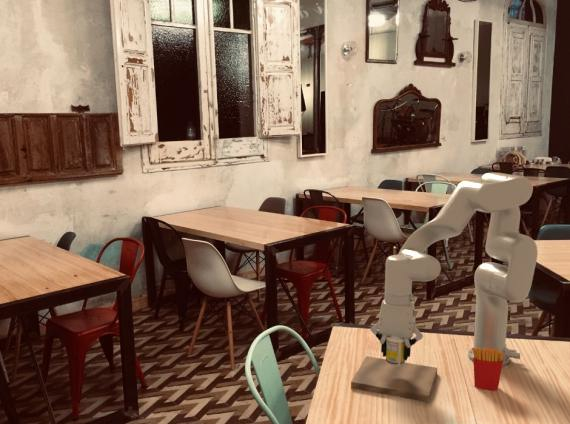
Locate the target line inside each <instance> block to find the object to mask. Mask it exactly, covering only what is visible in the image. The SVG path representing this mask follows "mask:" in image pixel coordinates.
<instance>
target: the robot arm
mask: <svg viewBox="0 0 570 424" xmlns="http://www.w3.org/2000/svg"><path fill="white" fill-rule="evenodd" d="M533 190H534V187H533V184H532V182H531V181H530V179H528V178H527V177H525V176H523V175H522V176H521V175H517V174H516V175H515V174H507V173H503V172H485V173H484V174H483V175H481V176H480V178H479V180H475V179H474V180H471V179H470V180H469V179H467V180H463V181H461V182H459V183H458V184H457V186H456V187H455V188H454V189H453V191H452V192H451V194H450V196H449V197H448V199H447V200H446V202H445V203H444V204H443V206H442V207H441V209H440V210H439V212H438V213H437V215H436V216H435V217H434V218H433V219H432V220H430V221H428V222H426V223H424V224H423V225H422V226H421V227H419V228H417V229H416V230H414V232H413V233H411V234H410V236H409V237H407V239H406V240H405V241H404V244H402V247H401V248H400V249H399V252H398V253H397V254H393V255H389V256H388V257H387V258H386V260H385V277H384V299H382V302H381V305H380V309H379V310H380V312H379V316H378V317H379V318H378V321H377V322H376V323H375V324H374V325H373V326H372V327H371V328H370V331H371V332H372V333H373V335H375V337H376V338H377V339H378V340H379V342H380V345H381V348H380V352H381V353H382V357H384V358H386V340H387V336H396V337H400V338H404V340H405V343H406V346H405V348H404V360H405V362H407V360H408V358H410V357H411V350H412V349H411V347H412V346H413V345H415V344H417V342H419V341H420V340H422V339H423V337H424V335H423V333H422V332H421V331H420V330H419V328H418V327H417V325H416V310H415V304H414V302H416V301H417V296H415V295H413V292H412V287H413V286H412V285H413V282H430V281H431V282H432V281H434V280H435V279H436V278H437V277H439V275H440V274H441V271H442V268H441V267H442V266H441V263H440V262H439V260H438V259H437V258H436V257H434V256H432V255H430V254H427V253H425V251H426V250H427V248H429V247H430V246H431V245H433V244H434V243H436V242H438V241H441V240H446V239H450V238H451V239H452V238H453V237H457V236H459V235H461V233H462V232H463V230H464V229H465V228H466V226H467V225H468V223H469V222H470V220H471V218H473V216H474V214H475V213H476V212H477V211H478V212H481V213H487V214H490V221H489V227H488V231H487V236H486V241H485V252H486V254H487V255H488V256H489V257H490V258H493V259H495V260H497V261H500V262H504V263H507V264H508V266H506V265H503V264H501V263H496V262H491V261H488V262H487V261H486V262H483V263H481V264H479V265H478V267H477V268H476V270H475V272H474V276H473V277H474V278H473V279H474V281H473V282H474V287H475V297H476V299H475V300H476V301H475V302H476V303H475V317H474V334H473V335H474V336H473V348H478V347H480V349H481V351H482V350H484V347H486V349H487V348H489V351H490V350H491V349H493V351H494V349H498V352H499V353H501V352H503V357H502V359H503V365H502V367H504V366H506V365H508V364H509V363H510V359H512V358H513V359H517V360H520V359H521V352H517V349H511V348H508V347H507V341H506V340H507V328H508V327H507V326H508V312H509V306H508V305H509V304H508V301H509V302H512V303H521V302H522V301H524V300H525V299H526V298H527V297H528V295H529V293H530V290H531V287H532V284H533V280H534V275H535V270H536V266H537V260H538V246H537V243H536V241H535V240H534V239H533V238H532V237H530V236H528V235H525V234H523V233H520V232H519V229H520V223H521V222H520V221H521V211H520V206H522V205H525V204H526V203H527V202H528V201H529V200H530V198H531V197H532V194H533ZM414 335H415V336H414ZM413 336H414V337H413ZM473 355H474V354H473V350H472V348H470V349H469V350H468V351H467V356H468V358H469V360H471V361H472V362H473Z"/></svg>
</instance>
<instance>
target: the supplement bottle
mask: <svg viewBox="0 0 570 424" xmlns="http://www.w3.org/2000/svg"><path fill="white" fill-rule="evenodd" d="M386 339H387V340H386V356H385V359H386V362H387V363H388V364H390V365H392V366H401V365H403V364H404V363H406V360H404V348H405V346H406V343H405V340H404V338H400V337H396V336H387V338H386Z"/></svg>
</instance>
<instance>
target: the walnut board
mask: <svg viewBox="0 0 570 424" xmlns="http://www.w3.org/2000/svg"><path fill="white" fill-rule="evenodd" d="M437 375H438V367H435V366H429V365H423V364H417V363H410V362H405V363H404V364H403V365H401V366H392V365H390V364H388V363H387V362H386V358H381V357H380V358H379V357H375V356H374V357H373V356H367V355H366V356H365V358H364V360H363V361H362V362H361V364H360V366H359V368H358V369H357V371H356V372H355V374H354V376H353V377H352V379H351V382H350V389H355V390H358V391H359V390H360V391H364V392H370V393H375V394H381V395H386V396H391V397H397V398H401V399H408V400H412V401H418V402H424V403H428V404H429V402H430V399H431V395H432V392H433V389H434V386H435V382H436V378H437Z"/></svg>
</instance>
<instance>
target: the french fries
mask: <svg viewBox="0 0 570 424" xmlns="http://www.w3.org/2000/svg"><path fill="white" fill-rule="evenodd" d="M471 349H472V350H473V354H474V355H473V361H472V362H473V378H474V381H473V382H474V387H475V388H476V389H478V390H484V391H491V392H495V391H496V392H497V391H498V390H499V385H500V379H501V374H502V369H503V366H502V365H503V359H502V357H503V352H501V353H499V352H498V349H494V351H493V349H491V350H490V351H489V348H487V349H486V347H484V350H482V351H481V349H480V347H478V348H474V347H472V348H471Z"/></svg>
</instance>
